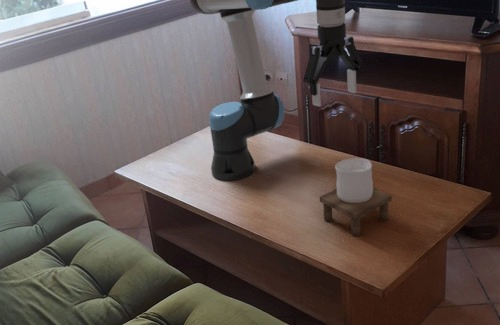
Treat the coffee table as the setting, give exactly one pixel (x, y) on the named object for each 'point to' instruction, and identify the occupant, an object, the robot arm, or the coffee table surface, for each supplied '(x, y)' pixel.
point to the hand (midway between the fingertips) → (334, 98)
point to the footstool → (356, 208)
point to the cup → (354, 180)
